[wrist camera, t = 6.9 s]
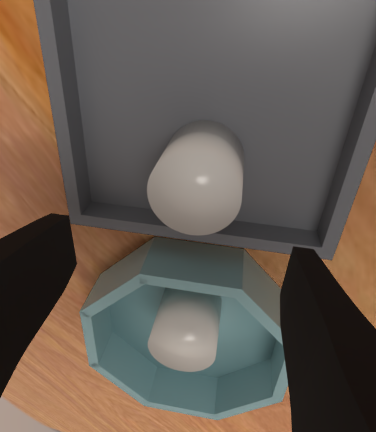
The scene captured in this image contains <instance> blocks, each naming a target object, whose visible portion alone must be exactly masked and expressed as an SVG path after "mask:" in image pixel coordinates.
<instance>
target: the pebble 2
mask: <svg viewBox="0 0 376 432" xmlns="http://www.w3.org/2000/svg"><path fill="white" fill-rule="evenodd" d="M221 307H222V298H221V296H217V295H211V294H205V293H198V292H192V291H185V290H179V289H173V288H166V287H165V289H164V292H163V296H162V299H161V302H160V305H159V308H158V311H157V315H156V318H155V321H154V324H153V327H152V330H151V333H150V337H149V340H148V349H149V351H150V353H151V355H152V356H153V357H154V358H155V359H156V360H157V361H158V362H160V363H161V364H163V365H165V366H167V367H169V368H171V369H174V370H178V371H184V372H195V371H201V370H204V369H206V368H208V367H209V366H211V365H212V364H213V362H214V361H215V358H216V350H217V342H218V333H219V324H220V316H221Z"/></svg>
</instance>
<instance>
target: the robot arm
mask: <svg viewBox="0 0 376 432" xmlns="http://www.w3.org/2000/svg"><path fill="white" fill-rule="evenodd" d="M76 265H77V261H76V255H75V249H74V243H73V238H72V232H71V226H70V220H69V216H67V215H59V214H52V213H51V214H49V215H47V216H44V217H42V218H40V219H38V220H36V221H34V222H32V223H30V224H28V225H26V226H24V227H22V228H20V229H18V230H17V231H15V232H13V233H11V234H9V235H7V236H5V237H3V238H1V239H0V398H1V395H2V393H3V391H4V389H5V387H6V385H7V384H8V382H9V380H10V378H11V376H12V374H13V372H14V370H15V368H16V366H17V364H18V362H19V361H20V359H21V357H22V355H23V354H24V352H25V350H26V349H27V347H28V346H29V344H30V343H31V341H32V339H33V338H34V336H35V335H36V333H37V332H38V330H39V329H40V327H41V326H42V324H43V323H44V321H45V320H46V318H47V317H48V315H49V314H50V312H51V310H52V309H53V307H54V306H55V304H56V303H57V301H58V300H59V298H60V296H61V295H62V293H63V292H64V290H65V288H66V286H67V284H68V282H69V280H70V278H71V276H72V274H73V271H74V269H75V267H76ZM280 327H281V335H282V343H283V350H284V357H285V365H286V372H287V379H288V387H289V394H290V404H291V420H292V432H376V329H375V328H374V326H373V325H372V324H371V323H370V322H369V321H368V320H367V318H366V317H365V316H364V315H363V314H362V313H361V312H360V310H359V309H358V308H357V307H356V305H355V304H354V303H353V302H352V300H351V299H350V298H349V297H348V295H347V294H346V293H345V291H344V290H343V289H342V287H341V286H340V285H339V283H338V282H337V281H336V279H335V278H334V277H333V275H332V274H331V272H330V271H329V270H328V268H327V267H326V265H325V264H324V263H323V261H322V260H321V258H320V257H319V256H318V254H317V253H316V251H315V250H314V249H310V248H302V247H295V246H293V248H292V252H291V256H290V259H289V263H288V267H287V270H286V274H285V278H284V281H283V285H282V289H281V292H280Z"/></svg>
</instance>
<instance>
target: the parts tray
mask: <svg viewBox="0 0 376 432" xmlns="http://www.w3.org/2000/svg"><path fill="white" fill-rule="evenodd" d="M33 1H34V7H35V13H36V19H37V25H38V31H39V37H40V43H41V49H42V55H43V61H44V67H45V73H46V79H47V85H48V91H49V97H50V103H51V109H52V115H53V121H54V127H55V133H56V139H57V145H58V151H59V157H60V163H61V169H62V175H63V181H64V187H65V193H66V199H67V205H68V211H69V217H70V223H71V224H76V225H83V226H91V227H98V228H105V229H112V230H119V231H126V232H134V233H141V234H148V235H155V236H162V237H170V238H177V239H184V240H191V241H198V242H205V243H213V244H220V245H227V246H234V247H241V248H248V249H256V250H263V251H270V252H277V253H284V254H291V252H292V248H293V246H295V247H302V248H310V249H314V250H315V251H316V253H317V254H318V256H319V257H320V258H321V259H327V260H332V259H333V256H334V254H335V251H336V248H337V245H338V243H339V240H340V237H341V234H342V232H343V229H344V226H345V223H346V221H347V218H348V215H349V212H350V210H351V207H352V204H353V201H354V199H355V196H356V193H357V190H358V188H359V185H360V182H361V179H362V177H363V174H364V171H365V168H366V166H367V163H368V160H369V157H370V155H371V152H372V149H373V147H374V144H375V141H376V0H33ZM200 120H209V121H214V122H218V123H220V124H222V125H224V126H226V127H228V128H229V129H230V130H231V131H233V132H234V133H235V135H236V136H237V137H238V139H239V140H240V142H241V144H242V147H243V150H244V173H243V189H242V203H241V207H240V210H239V212H238V214H237V216H236V218H235V219H234V220H233V221H232V222H231V223H230V224H229V225H228V226H227V227H225V228H224V229H222V230H220V231H218V232H215V233H213V234H209V235H198V236H196V235H188V234H184V233H180V232H178V231H175V230H173V229H172V228H170V227H168V226H167V225H165V224H164V223H163V222H162V221H161V220H160V219H159V218H158V217H157V216H156V215H155V213H154V212H153V210H152V208H151V206H150V203H149V201H148V196H147V184H148V179H149V177H150V174H151V172H152V171H153V169H154V167H155V166H156V164H157V162H158V160H159V159H160V157H161V155H162V154H163V152H164V150H165V149H166V147H167V145H168V143H169V142H170V140H171V138H172V137H173V135H174V134H175V133H176V132H177V131H178V130H179V129H180V128H181V127H183V126H184V125H186V124H188V123H191V122H194V121H200Z"/></svg>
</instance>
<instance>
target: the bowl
mask: <svg viewBox="0 0 376 432" xmlns="http://www.w3.org/2000/svg"><path fill="white" fill-rule="evenodd" d="M165 287H166V288H173V289H179V290H185V291H192V292H198V293H205V294H211V295H217V296H221V298H222V307H221V316H220V324H219V333H218V342H217V350H216V358H215V361H214V362H213V364H212V365H211V366H209V367H208V368H206V369H204V370H201V371H195V372H184V371H178V370H174V369H171V368H169V367H167V366H165V365H163V364H161V363H160V362H158V361H157V360H156V359H155V358H154V357H153V356H152V355H151V353H150V351H149V349H148V340H149V337H150V333H151V330H152V327H153V324H154V321H155V318H156V315H157V311H158V308H159V305H160V302H161V299H162V296H163V292H164V289H165ZM280 292H281V288H280V287H279V286H278V285H277V284H276V283H275V282H274V281H273V280H272V279H271V277H270V276H269V275H268V274H267V273H266V272H265V271H264V270H263V269H262V268H261V267H260V266H259V265H258V264H257V263H256V261H255V260H254V259H253V258H252V257H251V256H250V255H249V254H248V253H247V252H246V251H245V250H244V249H241V248H234V247H227V246H219V245H212V244H205V243H198V242H191V241H184V240H176V239H169V238H162V237H156V236H155V237H154V238H152V239H151V240H149V241H148V242H146V243H145V244H144V245H142V246H141V247H139V248H138V249H136V250H135V251H133V252H132V253H130V254H129V255H128V256H126V257H125V258H123V259H122V260H120V261H119V262H117V263H116V264H114V265H113V266H111V267H110V268H109V269H107V270H106V271H104V272H103V273H101V274H100V276H99V278H98V279H97V281H96V283H95V285H94V287H93V288H92V290H91V292H90V294H89V296H88V297H87V299H86V301H85V303H84V305H83V306H82V308H81V310H80V317H81V322H82V328H83V333H84V339H85V345H86V350H87V356H88V361H89V366H90V367H92V368H93V369H95V370H96V371H97V372H99V373H100V374H101V375H103V376H104V377H105V378H107V379H108V380H110V381H111V382H112V383H114V384H115V385H116V386H118V387H119V388H121V389H122V390H123V391H125V392H126V393H127V394H129V395H130V396H131V397H133V398H134V399H136V400H137V401H138V402H140V403H141V404H142V405H144V406H147V407H152V408H157V409H163V410H168V411H173V412H178V413H183V414H188V415H193V416H198V417H203V418H208V419H214V420H220V419H223V418H227V417H230V416H234V415H237V414H241V413H244V412H247V411H251V410H254V409H258V408H261V407H265V406H268V405H272V404H275V403H278V402H282V400H283V397H284V395H285V392H286V389H287V386H288V379H287V372H286V365H285V357H284V350H283V343H282V335H281V327H280Z"/></svg>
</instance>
